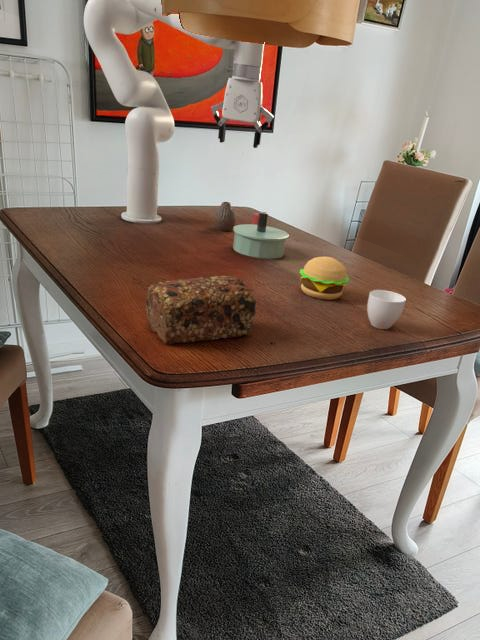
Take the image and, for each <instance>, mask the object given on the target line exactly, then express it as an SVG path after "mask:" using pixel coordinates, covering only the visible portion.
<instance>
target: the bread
mask: <svg viewBox="0 0 480 640" xmlns="http://www.w3.org/2000/svg"><path fill="white" fill-rule="evenodd" d="M257 303H258V302H257V301H256V298H255V297H254V295H253V294H252V292H251V290H250V289H249V287H248V285H247V284H246V282H244V281H243V280H242V279H240V278H238V277H236V276H233V275H227V274H226V275H215V276H214V275H213V276H208V277H206V276H199V277H196V278H194V277H191V278H187V279H173V280H164V281H158V282H155V283H152V284H151V285H150V286H149V287H148V289H147V293H146V305H145V312H146V322H147V324H148V326H149V327H150V329H151V331H153V333H156V334H157V335H158V338H159V339H160V340H162V342H163V343H164V344H166V345H174V344H176V343H178V344H179V343H181V344H186V343H196V342H201V341H213V340H219V339H231V338H232V339H233V338H239V337H242V336H248V335H250V334H251V332H252V330H253V329H252V328H253V324H254V322H255V319H256V315H257V311H256V305H257Z"/></svg>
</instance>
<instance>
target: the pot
mask: <svg viewBox="0 0 480 640" xmlns="http://www.w3.org/2000/svg"><path fill="white" fill-rule="evenodd" d="M286 244H287V239H286V240H282V241H266V240H258V239H252V238H248V237H245V236H242V235H239V234H237V233H235V232H234V236H233V243H232V248H233V250H234V251H235V252H236V253H238V254H241V255H243V256H244V255H245V256H247V257H253V258H257V259H268V260H269V259H281V258H283V256H284V255H285V250H286Z"/></svg>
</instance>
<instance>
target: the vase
mask: <svg viewBox="0 0 480 640" xmlns="http://www.w3.org/2000/svg"><path fill="white" fill-rule="evenodd" d="M213 226H214V228H215V230H216V231H219V232H226V233H227V232H228V233H229V232H231V231H233V228H234V226H236V213H235V211H234V209H233V207H232V204H231V202H229V201H222V202H221V204H220V206H218V207H217V209H216V210H215V212H214V214H213Z"/></svg>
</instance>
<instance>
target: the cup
mask: <svg viewBox="0 0 480 640" xmlns="http://www.w3.org/2000/svg"><path fill="white" fill-rule="evenodd" d="M406 301H407V298H406V297H405V296H404V295H402V294H400V293H398V292H394V291H390V290H386V289H372V290H371V291H370V292H369V294H368V298H367V304H366V311H367V318H368V321H369V323H370V325H371V326H372V327H373V328H376V329H380V330H389V329H390V328H391V327H392V326H394V325H395V324H396V322H397V321H398V320H399V319H400V317H401V316H402V314H403V311H404V308H405V307H406Z"/></svg>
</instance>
